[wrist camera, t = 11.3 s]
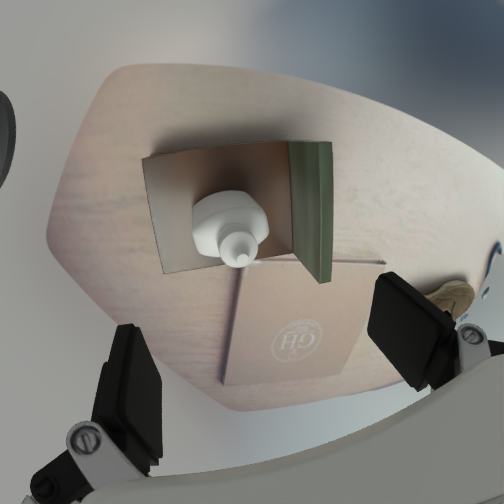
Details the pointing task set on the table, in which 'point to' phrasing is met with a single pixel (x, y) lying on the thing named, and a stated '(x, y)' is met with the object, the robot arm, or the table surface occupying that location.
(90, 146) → the table surface
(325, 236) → the shelf
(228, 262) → the eye dropper bottle
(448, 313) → the slip on shoe
